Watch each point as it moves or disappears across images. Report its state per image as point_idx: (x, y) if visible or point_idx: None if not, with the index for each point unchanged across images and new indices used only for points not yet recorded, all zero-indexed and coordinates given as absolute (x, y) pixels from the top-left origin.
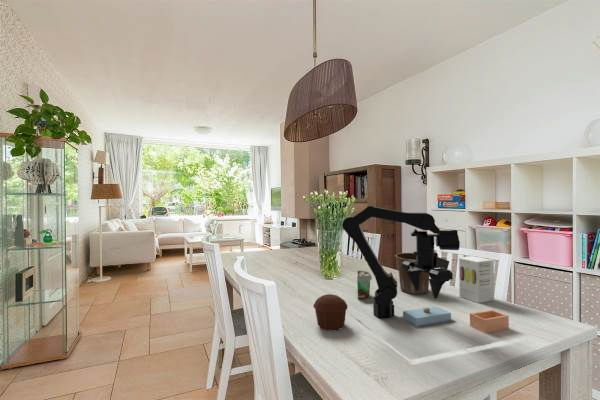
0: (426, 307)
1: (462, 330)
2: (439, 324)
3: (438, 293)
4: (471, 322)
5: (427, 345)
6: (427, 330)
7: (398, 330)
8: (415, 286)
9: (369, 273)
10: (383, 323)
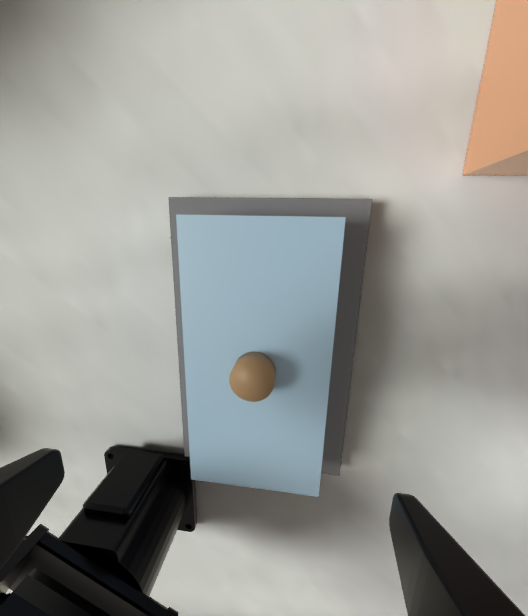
0: (181, 308)
1: (448, 242)
2: (354, 341)
3: (488, 592)
4: (514, 162)
5: (469, 518)
6: (350, 414)
7: (292, 514)
8: (10, 547)
9: None
10: (206, 517)
